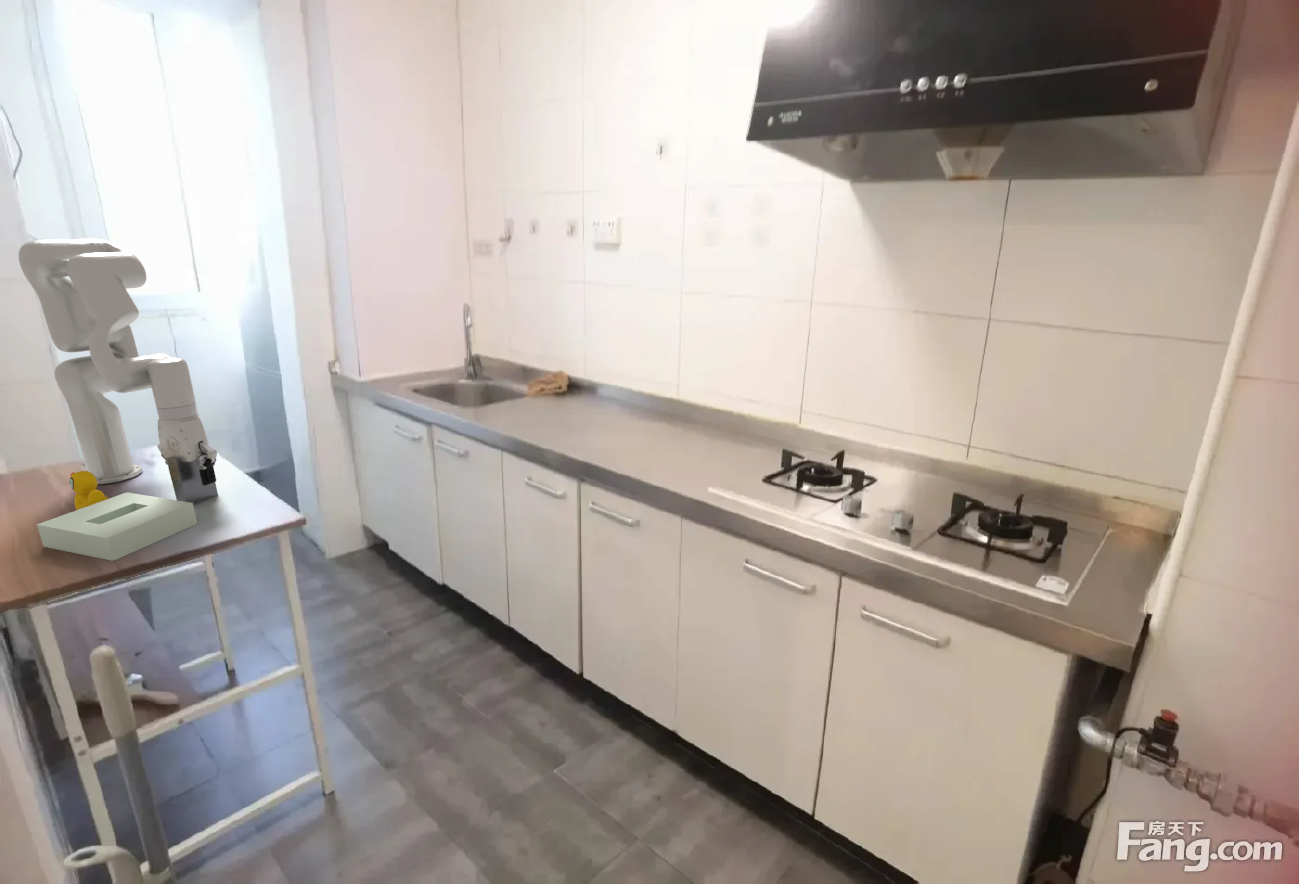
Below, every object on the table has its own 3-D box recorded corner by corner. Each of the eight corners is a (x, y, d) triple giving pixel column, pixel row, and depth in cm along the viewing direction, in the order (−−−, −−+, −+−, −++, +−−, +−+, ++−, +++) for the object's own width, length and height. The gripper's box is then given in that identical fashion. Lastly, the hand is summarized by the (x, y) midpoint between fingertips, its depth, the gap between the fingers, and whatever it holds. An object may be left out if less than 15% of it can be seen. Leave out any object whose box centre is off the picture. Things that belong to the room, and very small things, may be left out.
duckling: (68, 511, 152) (56, 471, 149) (96, 503, 157) (84, 464, 154) (90, 522, 147) (78, 480, 144) (118, 514, 151) (107, 473, 148)
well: (43, 546, 136) (36, 524, 134) (132, 512, 152) (126, 492, 151) (113, 560, 130) (106, 538, 129) (197, 523, 146) (192, 503, 145)
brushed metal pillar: (177, 505, 156) (166, 458, 152) (208, 493, 163) (198, 447, 159) (187, 507, 155) (176, 459, 151) (218, 494, 162) (207, 448, 158)
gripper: (134, 413, 151) (152, 482, 157) (191, 419, 146) (207, 491, 152) (166, 405, 158) (182, 472, 163) (221, 410, 153) (235, 479, 158)
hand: (194, 481), depth 157 cm, fingers open, 9 cm apart
